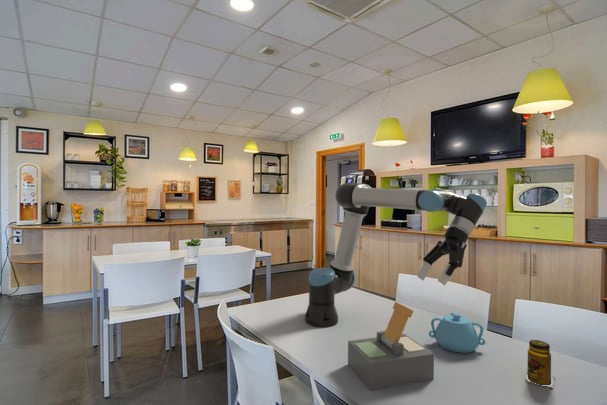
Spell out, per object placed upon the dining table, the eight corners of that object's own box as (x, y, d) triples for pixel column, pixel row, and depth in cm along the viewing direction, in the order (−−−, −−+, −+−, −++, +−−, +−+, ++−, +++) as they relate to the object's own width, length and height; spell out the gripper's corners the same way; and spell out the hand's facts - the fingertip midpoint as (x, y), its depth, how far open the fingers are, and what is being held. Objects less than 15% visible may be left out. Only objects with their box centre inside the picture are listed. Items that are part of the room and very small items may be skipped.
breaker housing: (403, 355, 121) (404, 325, 120) (433, 379, 105) (434, 344, 105) (347, 364, 114) (348, 332, 114) (370, 390, 99) (371, 353, 99)
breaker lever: (385, 342, 113) (401, 304, 115) (397, 352, 106) (413, 311, 108) (379, 340, 112) (394, 301, 114) (390, 349, 106) (407, 308, 107)
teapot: (428, 351, 124) (429, 317, 124) (428, 331, 143) (428, 301, 143) (488, 360, 118) (489, 324, 117) (480, 338, 136) (480, 307, 136)
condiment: (524, 381, 105) (524, 343, 105) (527, 370, 111) (528, 334, 111) (553, 390, 100) (553, 350, 100) (555, 378, 106) (555, 340, 106)
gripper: (491, 237, 111) (460, 291, 107) (446, 237, 136) (419, 282, 131) (474, 224, 111) (442, 278, 106) (431, 226, 135) (405, 271, 131)
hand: (430, 280), depth 119 cm, fingers open, 13 cm apart
